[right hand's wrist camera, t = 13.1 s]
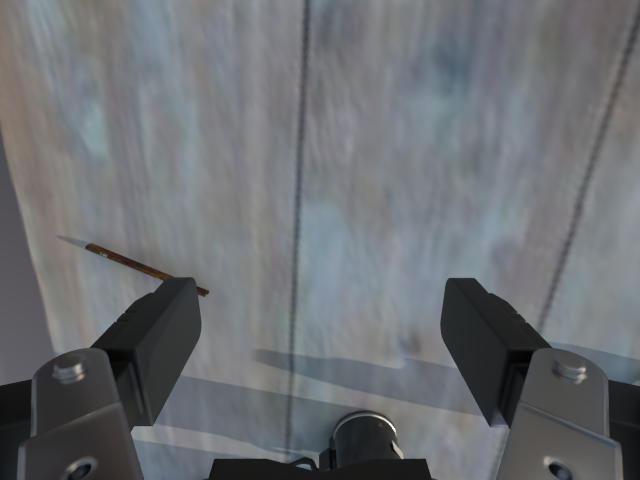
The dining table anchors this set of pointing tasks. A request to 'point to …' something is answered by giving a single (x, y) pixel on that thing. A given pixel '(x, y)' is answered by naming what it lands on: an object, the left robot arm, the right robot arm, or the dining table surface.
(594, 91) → the dining table surface
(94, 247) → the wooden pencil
